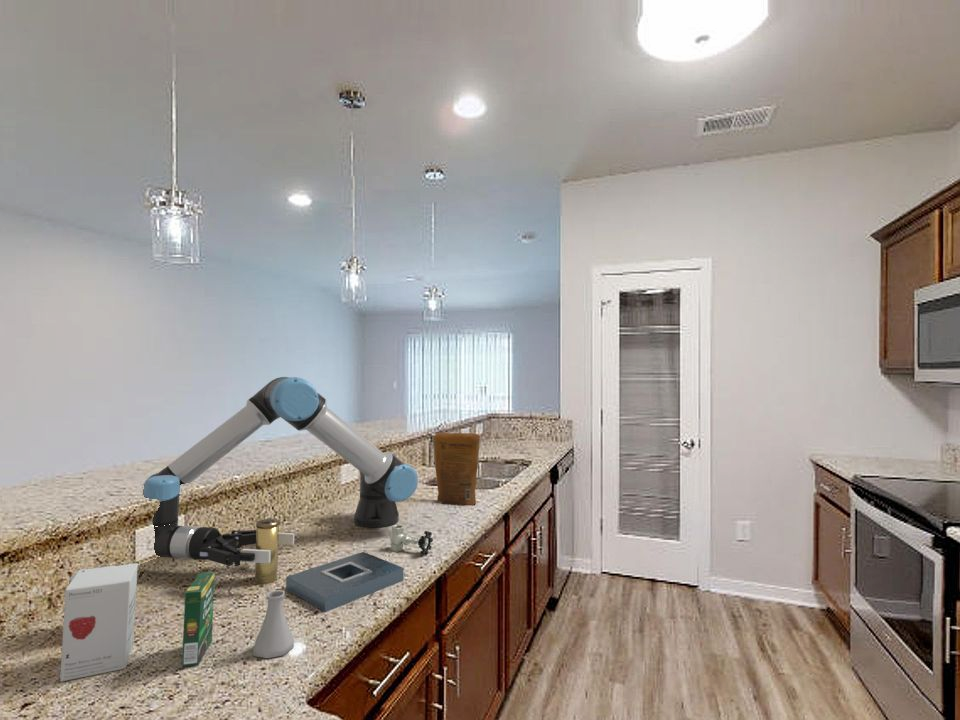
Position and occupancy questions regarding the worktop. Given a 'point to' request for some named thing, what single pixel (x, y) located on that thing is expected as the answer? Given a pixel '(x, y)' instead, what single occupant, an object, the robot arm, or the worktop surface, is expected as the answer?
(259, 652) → the flask
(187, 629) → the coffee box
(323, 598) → the plate
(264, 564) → the brass bushing
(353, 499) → the worktop surface
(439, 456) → the pancake mix bag
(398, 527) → the valve
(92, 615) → the supplement box
